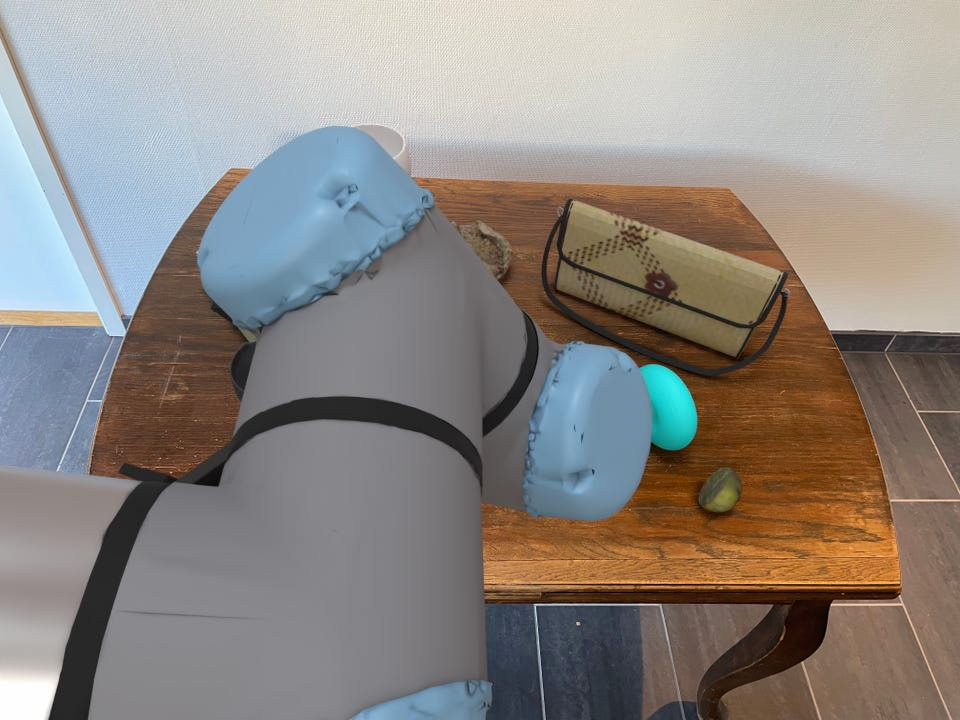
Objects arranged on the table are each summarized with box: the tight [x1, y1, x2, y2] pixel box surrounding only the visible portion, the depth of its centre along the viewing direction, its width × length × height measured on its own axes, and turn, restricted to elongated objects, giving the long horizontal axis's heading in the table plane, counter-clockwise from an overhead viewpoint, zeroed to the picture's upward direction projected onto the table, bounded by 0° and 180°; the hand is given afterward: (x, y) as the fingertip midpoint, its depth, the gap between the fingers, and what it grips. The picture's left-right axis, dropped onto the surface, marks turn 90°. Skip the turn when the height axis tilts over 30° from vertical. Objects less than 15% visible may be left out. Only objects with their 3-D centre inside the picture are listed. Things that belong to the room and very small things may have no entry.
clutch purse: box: [541, 198, 791, 377], centre depth 85 cm, size 30×7×15 cm, turn 63°
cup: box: [349, 122, 412, 177], centre depth 95 cm, size 11×11×15 cm
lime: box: [698, 466, 743, 513], centre depth 74 cm, size 4×5×5 cm
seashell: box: [450, 220, 514, 281], centre depth 95 cm, size 11×7×10 cm
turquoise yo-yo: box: [639, 363, 698, 451], centre depth 76 cm, size 10×10×10 cm
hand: (183, 390), depth 52 cm, fingers open, 13 cm apart
